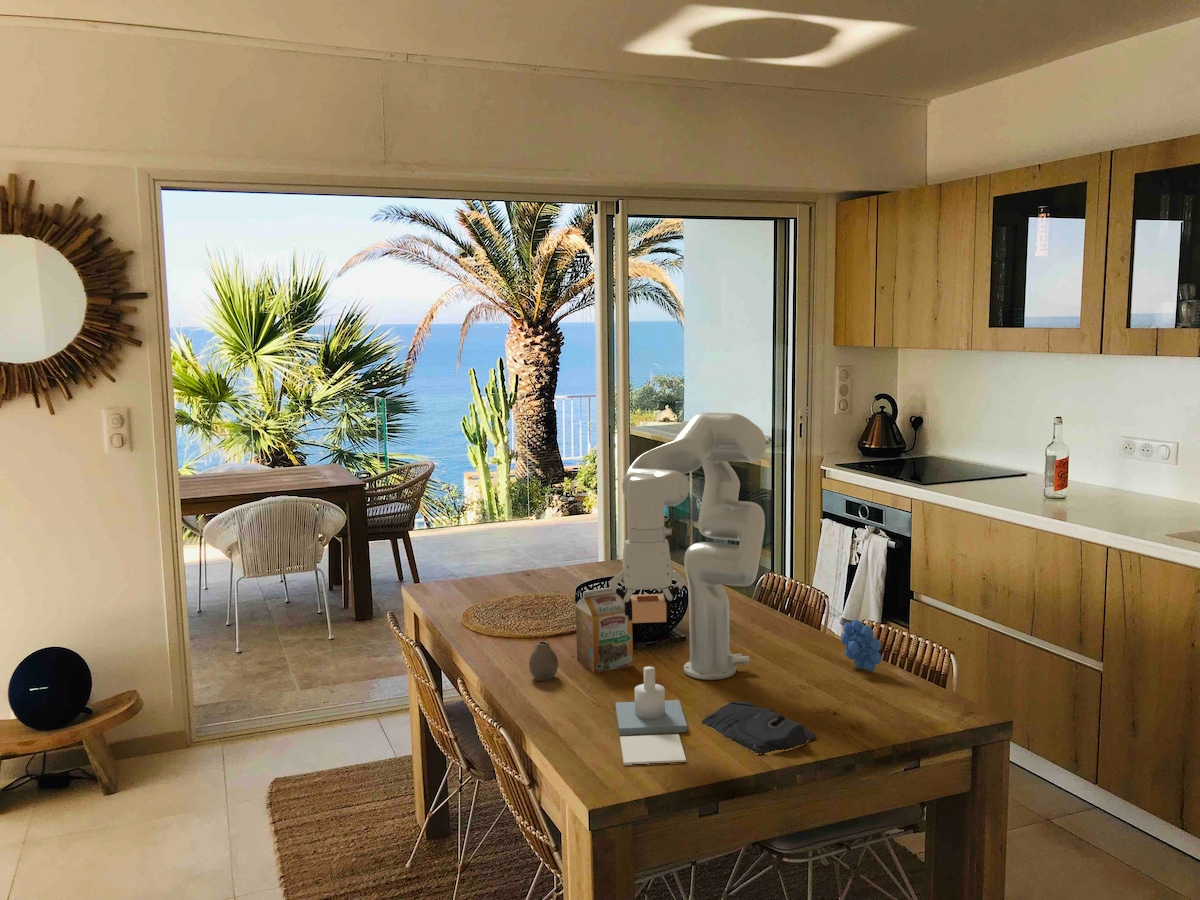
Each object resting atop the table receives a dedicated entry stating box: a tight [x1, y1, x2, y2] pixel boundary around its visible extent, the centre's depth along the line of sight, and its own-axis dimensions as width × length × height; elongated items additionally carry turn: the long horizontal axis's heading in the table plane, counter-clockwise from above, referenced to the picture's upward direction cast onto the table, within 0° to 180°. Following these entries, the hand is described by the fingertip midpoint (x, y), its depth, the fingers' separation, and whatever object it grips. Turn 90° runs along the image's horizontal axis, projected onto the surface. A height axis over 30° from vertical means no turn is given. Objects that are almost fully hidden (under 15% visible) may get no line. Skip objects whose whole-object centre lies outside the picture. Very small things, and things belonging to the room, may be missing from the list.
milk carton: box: [575, 585, 634, 674], centre depth 246 cm, size 11×11×19 cm
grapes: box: [840, 618, 883, 672], centre depth 237 cm, size 12×7×12 cm, turn 37°
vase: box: [528, 640, 559, 682], centre depth 238 cm, size 7×7×9 cm
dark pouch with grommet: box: [701, 700, 817, 754], centre depth 204 cm, size 15×22×5 cm
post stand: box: [614, 666, 688, 736], centre depth 211 cm, size 14×14×12 cm
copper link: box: [631, 593, 667, 624], centre depth 208 cm, size 7×7×4 cm
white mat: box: [619, 733, 687, 766], centre depth 196 cm, size 12×12×1 cm
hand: (648, 617), depth 208 cm, fingers closed on copper link, 7 cm apart
